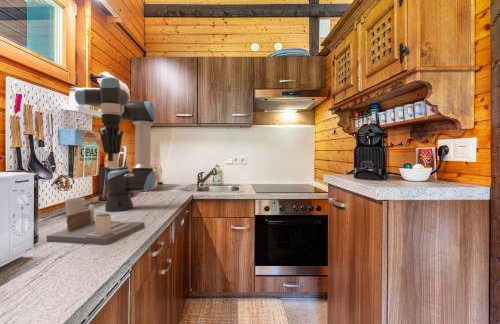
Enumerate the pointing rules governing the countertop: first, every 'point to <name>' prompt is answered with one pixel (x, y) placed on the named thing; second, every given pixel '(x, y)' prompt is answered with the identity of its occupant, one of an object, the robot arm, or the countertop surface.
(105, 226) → the fader knob
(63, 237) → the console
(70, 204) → the cup
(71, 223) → the door
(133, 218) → the countertop surface
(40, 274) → the countertop surface
